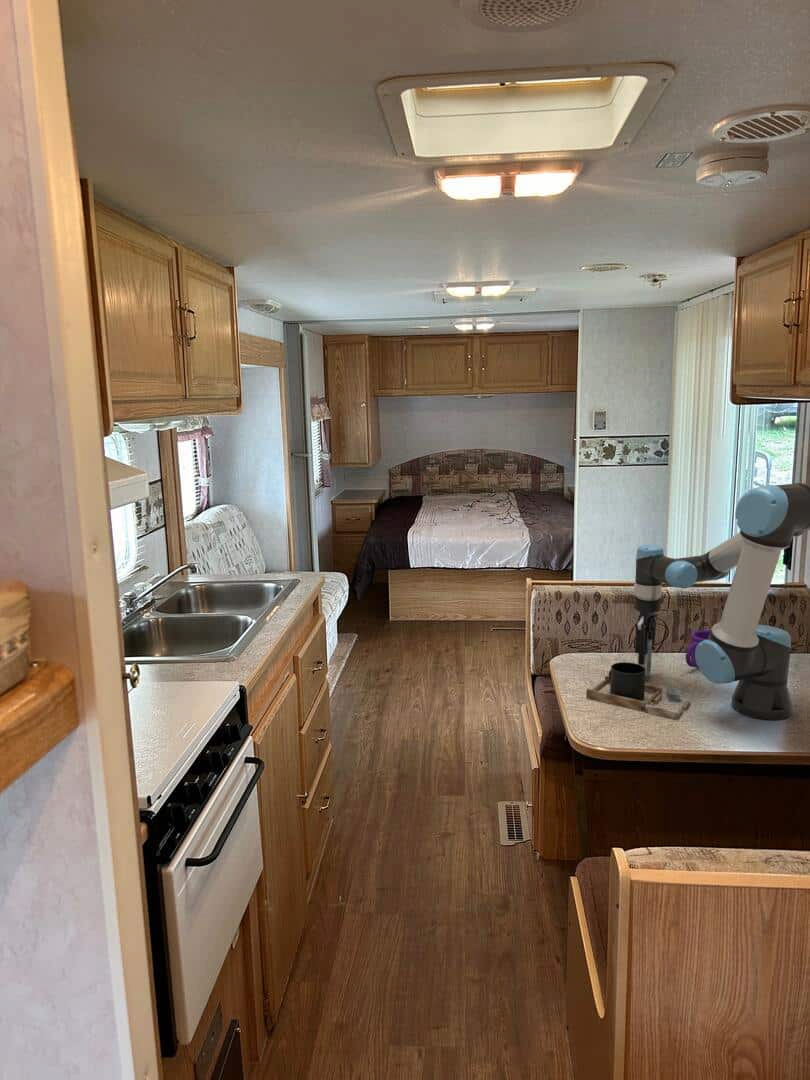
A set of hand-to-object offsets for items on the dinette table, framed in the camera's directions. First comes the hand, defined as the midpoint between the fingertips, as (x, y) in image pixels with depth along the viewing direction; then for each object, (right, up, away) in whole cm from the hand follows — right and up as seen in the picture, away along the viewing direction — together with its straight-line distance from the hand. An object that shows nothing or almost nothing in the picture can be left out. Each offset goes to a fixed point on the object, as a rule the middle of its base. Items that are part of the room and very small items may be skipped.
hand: (643, 671), depth 234 cm
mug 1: (-10, -5, -13) cm, 17 cm away
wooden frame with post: (-7, -4, -9) cm, 11 cm away
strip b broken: (+1, -6, -20) cm, 21 cm away
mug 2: (+21, 0, +9) cm, 23 cm away
